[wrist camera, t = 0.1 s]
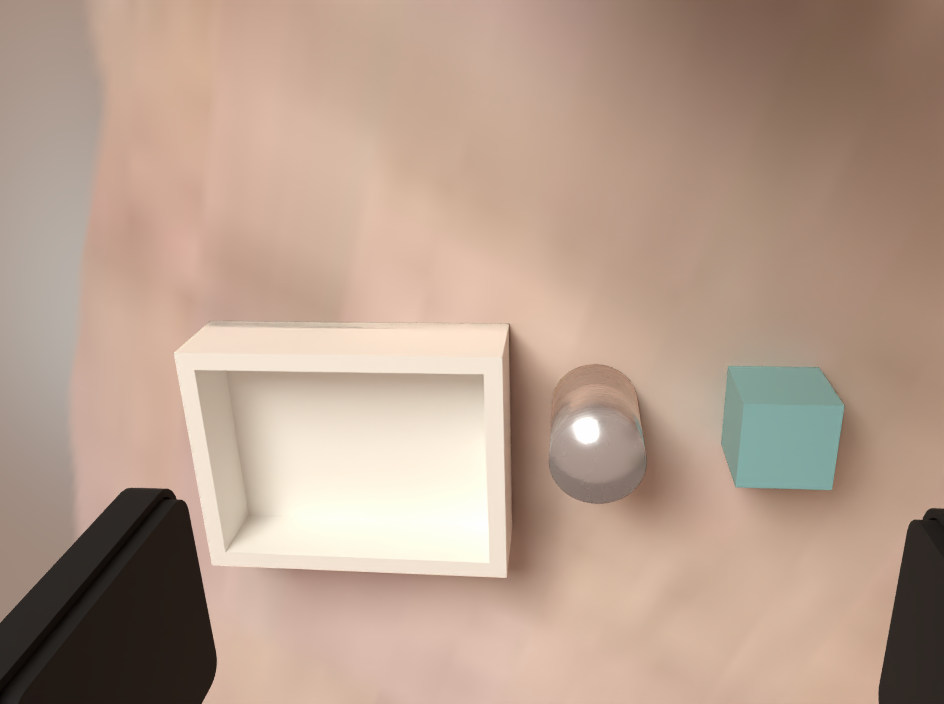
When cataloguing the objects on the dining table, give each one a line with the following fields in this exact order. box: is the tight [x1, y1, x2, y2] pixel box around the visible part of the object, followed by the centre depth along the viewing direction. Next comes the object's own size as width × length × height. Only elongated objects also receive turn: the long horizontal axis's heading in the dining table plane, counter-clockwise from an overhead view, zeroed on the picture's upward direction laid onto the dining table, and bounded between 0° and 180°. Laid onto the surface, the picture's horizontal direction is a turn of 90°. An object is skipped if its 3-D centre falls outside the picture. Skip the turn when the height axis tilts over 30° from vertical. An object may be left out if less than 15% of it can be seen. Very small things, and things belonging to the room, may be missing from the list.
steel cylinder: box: [549, 364, 647, 504], centre depth 47 cm, size 5×5×7 cm
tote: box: [174, 321, 512, 578], centre depth 50 cm, size 14×18×5 cm
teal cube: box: [721, 366, 844, 490], centre depth 47 cm, size 5×5×5 cm
